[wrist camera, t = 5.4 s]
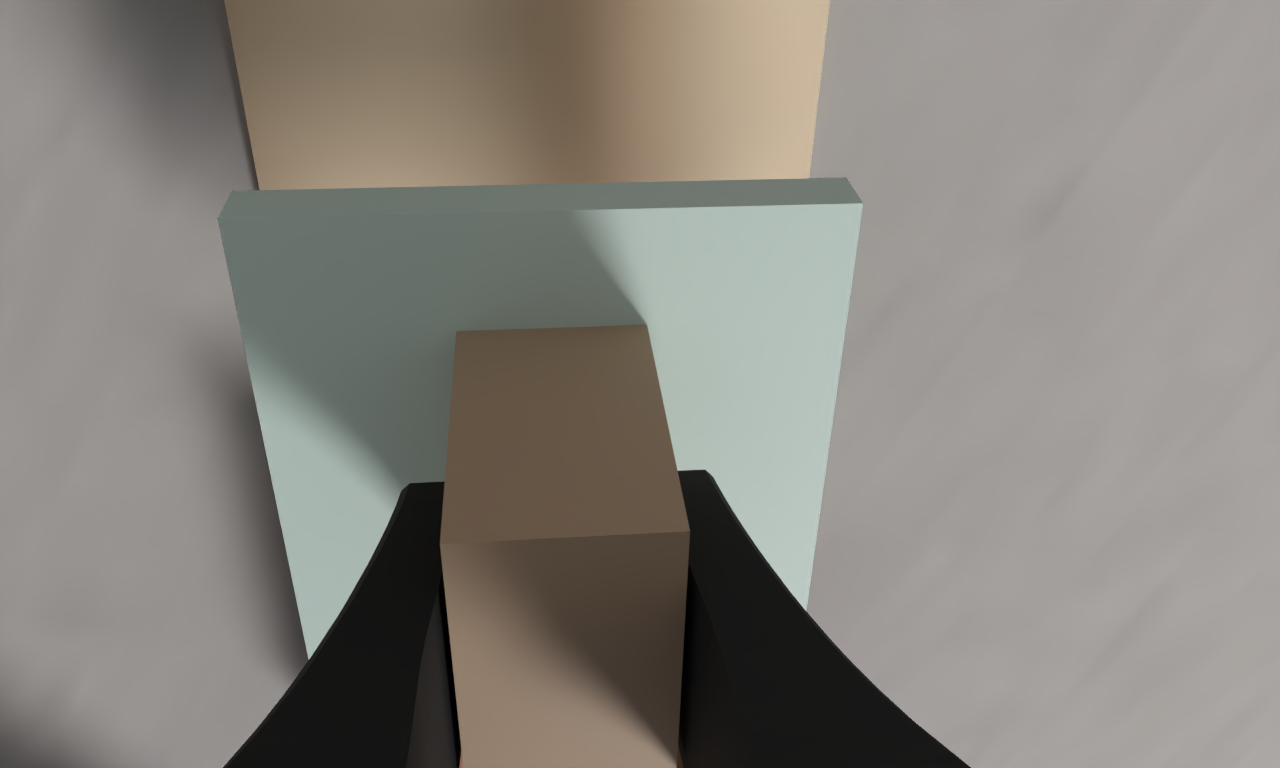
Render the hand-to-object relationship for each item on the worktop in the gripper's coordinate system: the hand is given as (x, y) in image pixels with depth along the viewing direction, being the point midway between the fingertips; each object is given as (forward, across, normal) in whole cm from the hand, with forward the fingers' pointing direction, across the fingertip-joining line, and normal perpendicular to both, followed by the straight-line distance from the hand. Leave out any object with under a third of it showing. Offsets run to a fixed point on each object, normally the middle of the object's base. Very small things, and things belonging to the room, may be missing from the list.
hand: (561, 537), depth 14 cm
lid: (+2, 0, 0) cm, 2 cm away
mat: (+9, 0, 0) cm, 9 cm away
